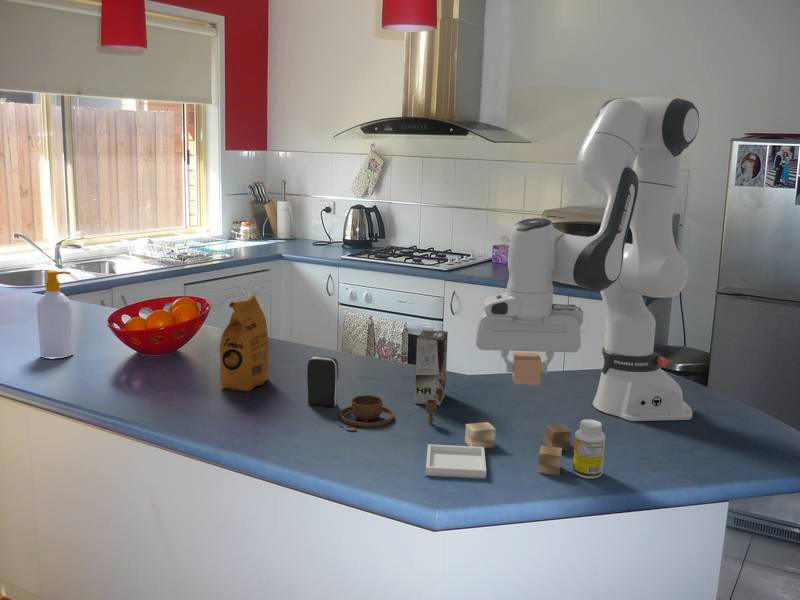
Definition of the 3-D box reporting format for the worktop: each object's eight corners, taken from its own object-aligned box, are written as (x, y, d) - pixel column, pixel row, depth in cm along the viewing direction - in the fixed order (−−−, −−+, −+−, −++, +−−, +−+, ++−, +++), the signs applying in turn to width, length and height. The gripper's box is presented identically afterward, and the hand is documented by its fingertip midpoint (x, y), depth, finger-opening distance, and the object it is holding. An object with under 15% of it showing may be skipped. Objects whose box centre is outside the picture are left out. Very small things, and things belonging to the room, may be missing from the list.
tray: (483, 454, 155) (484, 447, 155) (485, 478, 144) (486, 470, 144) (427, 451, 156) (428, 444, 155) (425, 475, 145) (426, 467, 144)
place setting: (373, 404, 184) (374, 380, 183) (441, 425, 172) (442, 400, 170) (320, 424, 171) (321, 398, 170) (389, 448, 158) (390, 421, 157)
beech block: (487, 440, 163) (488, 422, 162) (494, 447, 159) (495, 429, 158) (464, 442, 161) (465, 424, 161) (471, 449, 158) (472, 431, 157)
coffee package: (213, 388, 191) (211, 301, 187) (241, 374, 202) (239, 292, 198) (248, 393, 188) (247, 305, 183) (274, 379, 199) (273, 295, 195)
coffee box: (440, 406, 182) (443, 340, 179) (413, 403, 184) (415, 338, 180) (446, 394, 191) (448, 330, 188) (420, 391, 192) (422, 328, 189)
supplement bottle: (580, 465, 151) (584, 415, 149) (607, 473, 148) (611, 422, 146) (566, 474, 147) (570, 423, 145) (593, 482, 143) (598, 430, 141)
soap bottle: (68, 360, 211) (63, 274, 206) (34, 359, 211) (28, 273, 206) (82, 351, 219) (77, 269, 214) (49, 351, 219) (43, 268, 215)
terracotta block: (537, 376, 155) (538, 352, 154) (540, 384, 150) (541, 360, 149) (512, 376, 155) (513, 352, 154) (514, 384, 151) (515, 359, 150)
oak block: (560, 467, 150) (562, 447, 149) (559, 475, 146) (560, 455, 146) (539, 464, 151) (541, 445, 150) (538, 473, 147) (539, 453, 147)
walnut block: (562, 442, 163) (563, 424, 162) (570, 449, 159) (571, 431, 158) (544, 443, 162) (545, 425, 161) (551, 450, 158) (553, 432, 157)
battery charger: (340, 402, 183) (340, 356, 181) (334, 408, 179) (335, 360, 177) (312, 399, 185) (312, 353, 182) (306, 404, 181) (306, 357, 179)
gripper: (581, 301, 152) (577, 368, 155) (476, 298, 153) (474, 365, 156) (586, 308, 146) (582, 378, 149) (477, 305, 147) (475, 375, 150)
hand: (526, 371), depth 153 cm, fingers closed on terracotta block, 5 cm apart
